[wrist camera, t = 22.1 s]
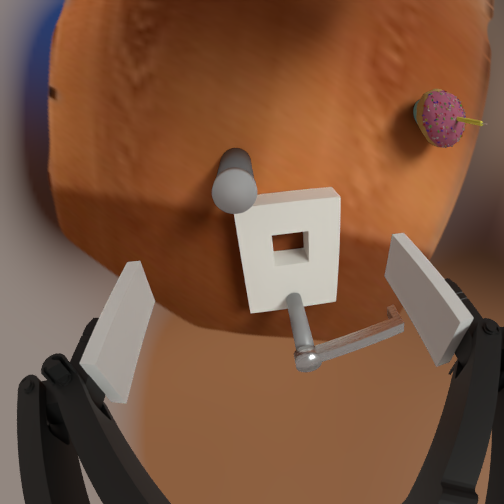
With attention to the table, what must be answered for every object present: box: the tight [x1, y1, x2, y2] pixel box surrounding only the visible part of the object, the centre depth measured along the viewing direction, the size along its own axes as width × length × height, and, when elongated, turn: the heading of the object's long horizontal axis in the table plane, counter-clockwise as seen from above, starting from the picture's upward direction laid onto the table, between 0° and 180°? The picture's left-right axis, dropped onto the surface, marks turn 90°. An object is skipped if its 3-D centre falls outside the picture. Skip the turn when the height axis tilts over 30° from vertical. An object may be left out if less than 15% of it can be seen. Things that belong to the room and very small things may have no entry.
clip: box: [294, 305, 404, 372], centre depth 34 cm, size 15×3×4 cm, turn 111°
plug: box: [212, 148, 257, 214], centre depth 32 cm, size 4×4×12 cm
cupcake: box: [413, 89, 487, 148], centre depth 28 cm, size 9×8×12 cm
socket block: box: [234, 187, 340, 350], centre depth 38 cm, size 18×14×15 cm
